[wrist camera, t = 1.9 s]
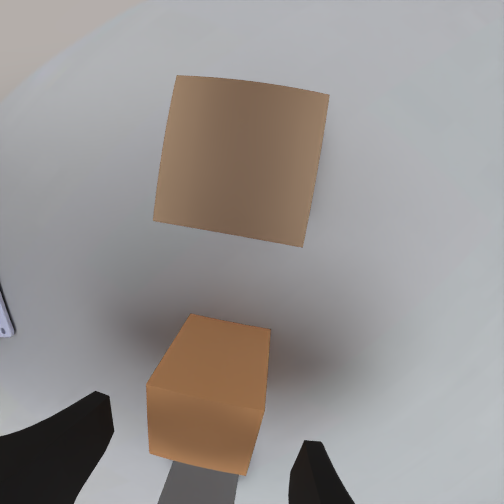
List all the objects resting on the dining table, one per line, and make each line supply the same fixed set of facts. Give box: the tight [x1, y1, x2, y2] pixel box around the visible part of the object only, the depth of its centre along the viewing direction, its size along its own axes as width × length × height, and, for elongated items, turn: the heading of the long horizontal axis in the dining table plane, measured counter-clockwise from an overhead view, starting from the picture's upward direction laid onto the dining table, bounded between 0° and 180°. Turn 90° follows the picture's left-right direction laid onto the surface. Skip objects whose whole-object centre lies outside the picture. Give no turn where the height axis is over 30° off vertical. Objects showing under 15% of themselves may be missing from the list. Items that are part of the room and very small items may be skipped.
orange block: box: [146, 314, 271, 476], centre depth 13 cm, size 4×4×6 cm
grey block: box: [158, 461, 239, 504], centre depth 15 cm, size 4×4×6 cm
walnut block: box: [153, 75, 329, 248], centre depth 11 cm, size 4×4×6 cm
